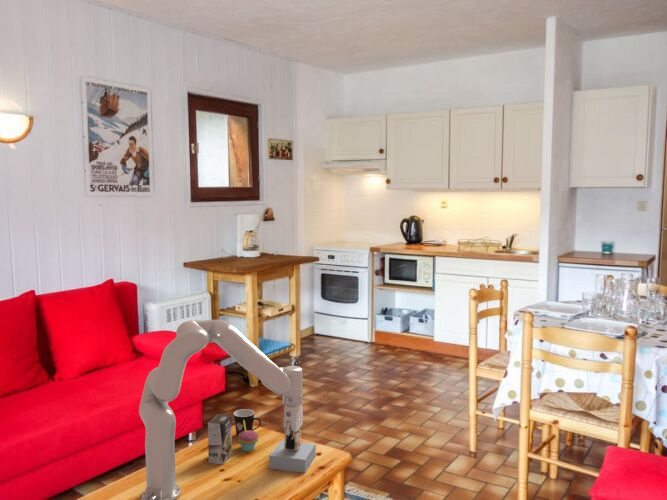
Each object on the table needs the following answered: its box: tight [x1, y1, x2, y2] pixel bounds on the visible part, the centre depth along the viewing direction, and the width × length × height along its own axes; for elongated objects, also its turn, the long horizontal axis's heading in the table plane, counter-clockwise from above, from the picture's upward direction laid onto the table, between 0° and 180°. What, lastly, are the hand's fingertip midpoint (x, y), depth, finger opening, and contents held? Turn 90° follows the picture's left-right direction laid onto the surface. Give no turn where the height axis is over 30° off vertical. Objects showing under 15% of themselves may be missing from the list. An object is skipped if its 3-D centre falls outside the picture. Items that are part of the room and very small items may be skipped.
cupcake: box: [236, 419, 260, 452], centre depth 235 cm, size 9×8×12 cm
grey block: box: [268, 439, 317, 474], centre depth 224 cm, size 14×14×5 cm
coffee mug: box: [233, 408, 262, 437], centre depth 246 cm, size 12×9×10 cm
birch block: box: [283, 428, 302, 450], centre depth 223 cm, size 5×5×6 cm
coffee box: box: [207, 413, 233, 465], centre depth 226 cm, size 9×6×16 cm
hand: (292, 445), depth 223 cm, fingers closed on birch block, 5 cm apart
